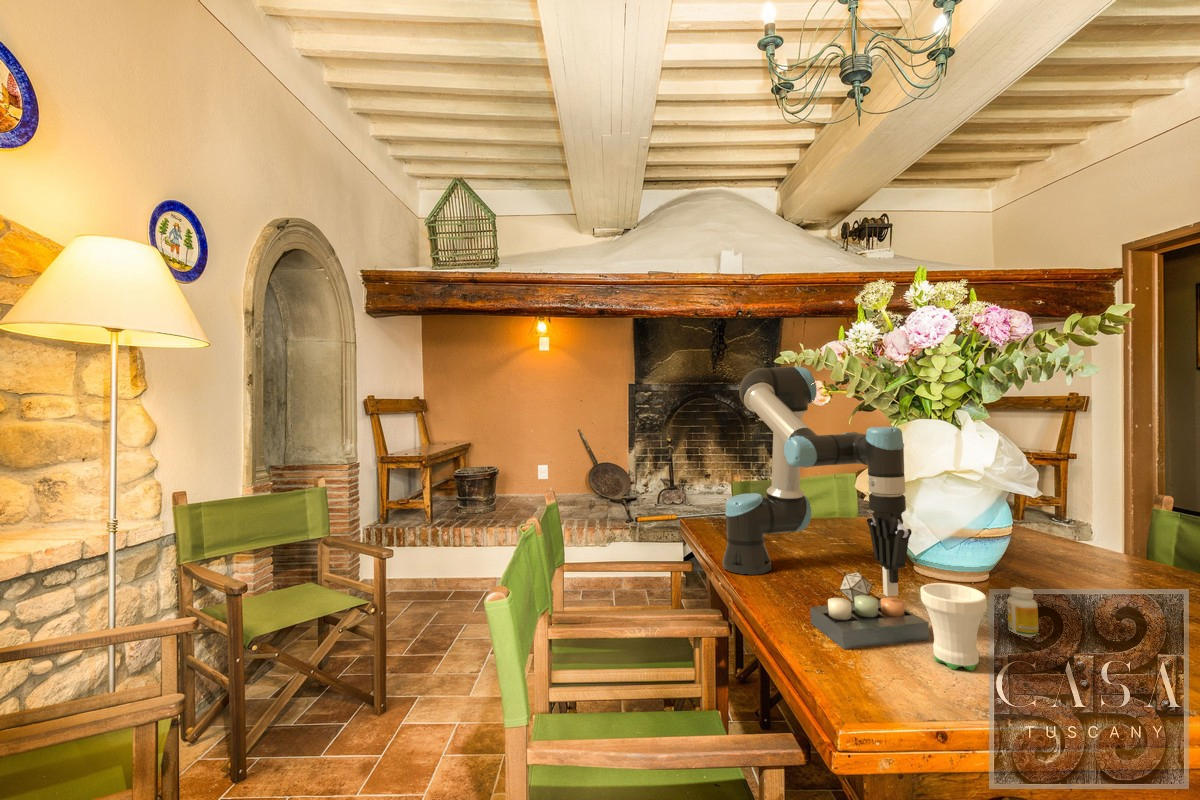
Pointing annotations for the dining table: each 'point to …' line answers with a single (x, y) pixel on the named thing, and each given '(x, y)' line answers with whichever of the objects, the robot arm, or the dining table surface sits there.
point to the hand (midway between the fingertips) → (890, 594)
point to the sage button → (866, 606)
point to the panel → (870, 628)
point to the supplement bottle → (1022, 612)
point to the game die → (855, 585)
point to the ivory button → (839, 608)
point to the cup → (954, 622)
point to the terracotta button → (892, 607)
